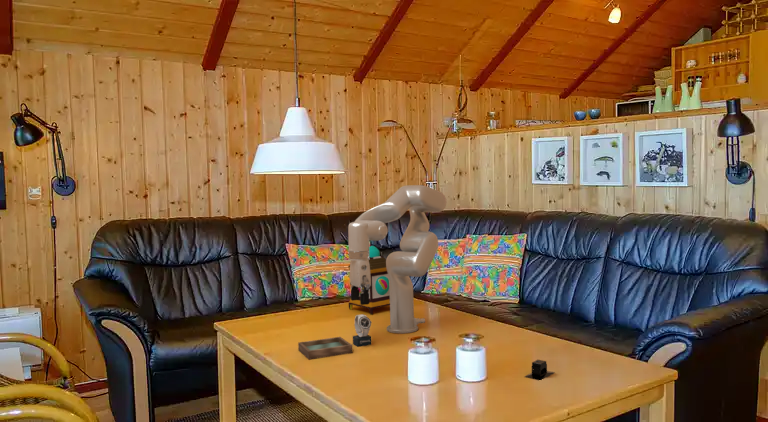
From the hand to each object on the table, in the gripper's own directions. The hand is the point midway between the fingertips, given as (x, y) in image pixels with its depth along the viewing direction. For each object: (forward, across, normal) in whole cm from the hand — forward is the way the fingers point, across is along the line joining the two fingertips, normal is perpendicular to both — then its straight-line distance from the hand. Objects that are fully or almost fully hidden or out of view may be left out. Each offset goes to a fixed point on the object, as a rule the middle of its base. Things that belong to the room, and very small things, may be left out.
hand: (359, 302), depth 220 cm
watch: (+16, 0, -1) cm, 16 cm away
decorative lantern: (+15, +54, -28) cm, 63 cm away
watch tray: (+16, -2, +14) cm, 22 cm away
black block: (+17, -58, -36) cm, 70 cm away
